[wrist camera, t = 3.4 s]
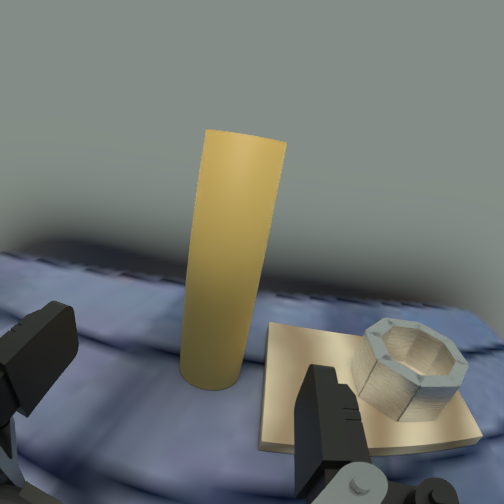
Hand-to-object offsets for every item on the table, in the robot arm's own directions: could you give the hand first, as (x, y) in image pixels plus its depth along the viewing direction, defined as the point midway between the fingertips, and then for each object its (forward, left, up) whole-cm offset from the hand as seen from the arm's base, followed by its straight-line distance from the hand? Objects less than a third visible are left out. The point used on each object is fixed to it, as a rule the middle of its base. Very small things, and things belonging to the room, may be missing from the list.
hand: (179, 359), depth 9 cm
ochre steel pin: (0, +10, -9) cm, 13 cm away
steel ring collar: (+15, +10, -8) cm, 20 cm away
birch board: (+12, +10, -9) cm, 18 cm away
